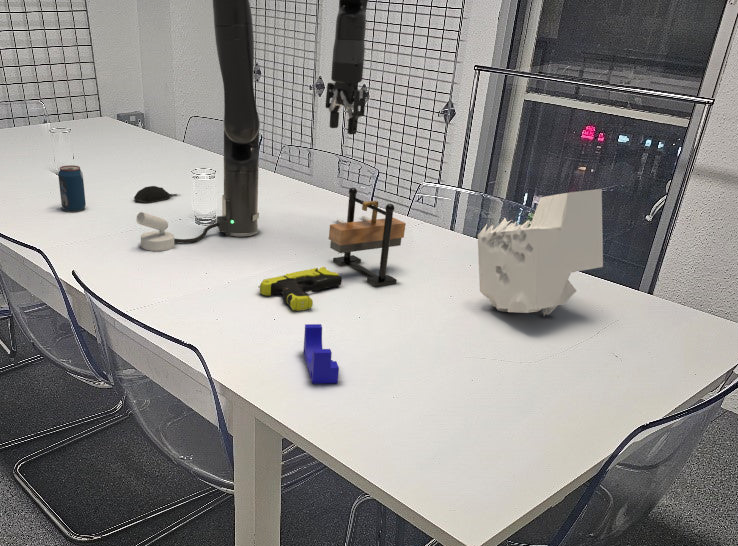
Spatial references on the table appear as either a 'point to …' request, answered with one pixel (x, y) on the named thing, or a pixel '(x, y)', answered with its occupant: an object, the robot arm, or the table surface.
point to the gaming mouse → (152, 194)
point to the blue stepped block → (318, 356)
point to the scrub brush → (364, 233)
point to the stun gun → (300, 286)
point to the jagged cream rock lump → (541, 253)
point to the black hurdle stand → (354, 260)
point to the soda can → (71, 188)
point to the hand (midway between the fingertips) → (342, 130)
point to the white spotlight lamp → (155, 233)
